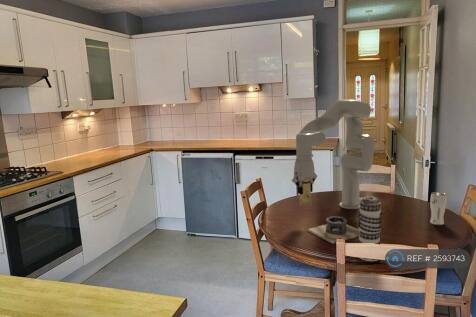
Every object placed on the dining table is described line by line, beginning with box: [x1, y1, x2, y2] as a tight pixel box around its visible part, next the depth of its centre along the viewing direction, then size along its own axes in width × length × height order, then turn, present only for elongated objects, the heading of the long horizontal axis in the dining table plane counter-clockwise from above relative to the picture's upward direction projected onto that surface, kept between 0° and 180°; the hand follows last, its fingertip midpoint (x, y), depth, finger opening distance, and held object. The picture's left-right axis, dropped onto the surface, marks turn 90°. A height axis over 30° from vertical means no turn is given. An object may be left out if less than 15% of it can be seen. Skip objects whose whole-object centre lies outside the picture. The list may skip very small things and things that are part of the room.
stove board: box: [307, 220, 360, 245], centre depth 173 cm, size 20×18×1 cm
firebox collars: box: [325, 215, 348, 235], centre depth 173 cm, size 9×9×6 cm
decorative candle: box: [357, 195, 383, 262], centre depth 146 cm, size 9×9×25 cm
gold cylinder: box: [299, 179, 312, 207], centre depth 183 cm, size 6×6×14 cm
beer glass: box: [429, 191, 447, 226], centre depth 179 cm, size 7×7×15 cm
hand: (305, 192), depth 183 cm, fingers closed on gold cylinder, 5 cm apart
